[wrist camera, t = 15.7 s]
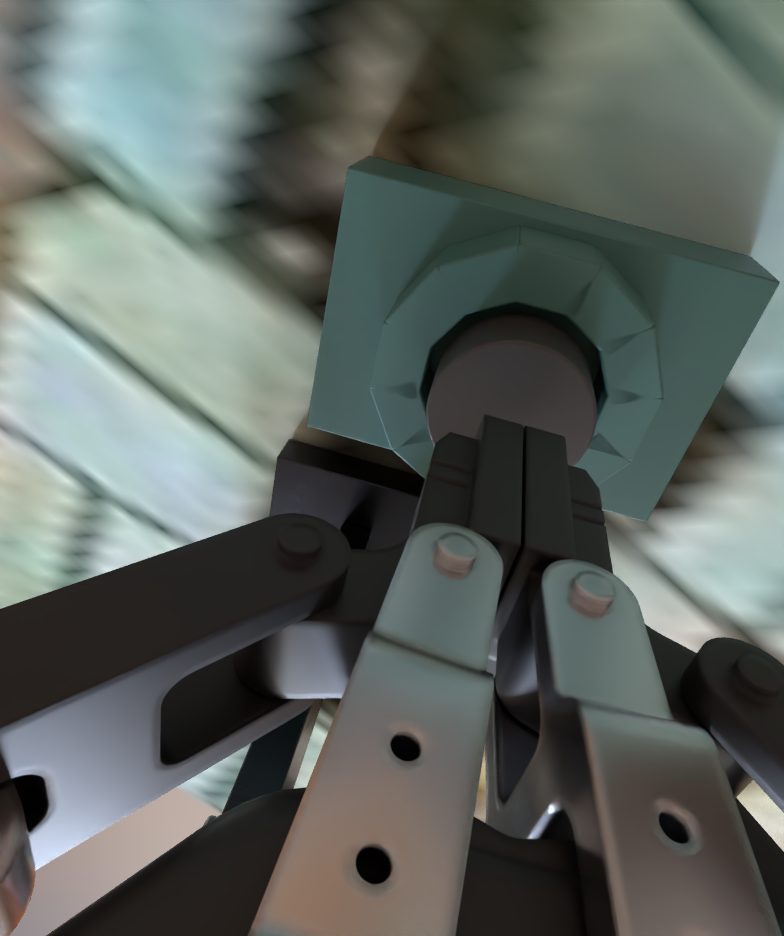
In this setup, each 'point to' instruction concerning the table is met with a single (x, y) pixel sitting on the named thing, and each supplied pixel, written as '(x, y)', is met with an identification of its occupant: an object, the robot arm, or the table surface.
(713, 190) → the table surface
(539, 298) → the button box
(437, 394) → the button
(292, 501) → the bracket
